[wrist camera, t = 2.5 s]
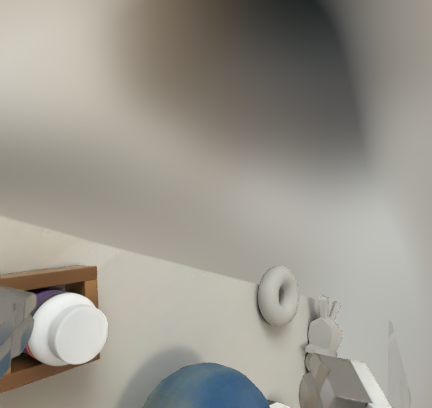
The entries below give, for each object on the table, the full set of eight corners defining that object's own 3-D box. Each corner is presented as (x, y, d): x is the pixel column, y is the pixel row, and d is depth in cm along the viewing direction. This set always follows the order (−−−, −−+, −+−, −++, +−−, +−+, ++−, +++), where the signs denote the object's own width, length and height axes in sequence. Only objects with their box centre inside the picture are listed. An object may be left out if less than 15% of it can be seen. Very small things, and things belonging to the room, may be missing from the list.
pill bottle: (-16, 328, 28) (25, 351, 21) (32, 275, 31) (81, 280, 24) (34, 360, 30) (86, 389, 24) (74, 308, 34) (129, 321, 27)
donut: (246, 308, 53) (277, 334, 59) (264, 311, 51) (294, 338, 56) (264, 254, 59) (291, 283, 64) (281, 254, 56) (307, 284, 61)
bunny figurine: (317, 381, 60) (332, 297, 63) (292, 371, 63) (308, 291, 67) (339, 382, 66) (352, 305, 70) (315, 373, 69) (328, 300, 73)
